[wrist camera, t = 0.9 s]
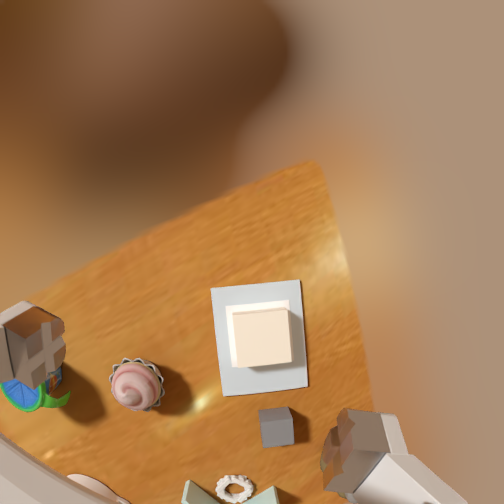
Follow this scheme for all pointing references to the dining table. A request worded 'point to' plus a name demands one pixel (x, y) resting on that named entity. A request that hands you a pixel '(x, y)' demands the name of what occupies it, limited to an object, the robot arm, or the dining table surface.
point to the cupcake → (137, 384)
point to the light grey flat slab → (223, 306)
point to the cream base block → (262, 337)
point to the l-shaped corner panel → (198, 500)
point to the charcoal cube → (276, 427)
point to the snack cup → (35, 393)
